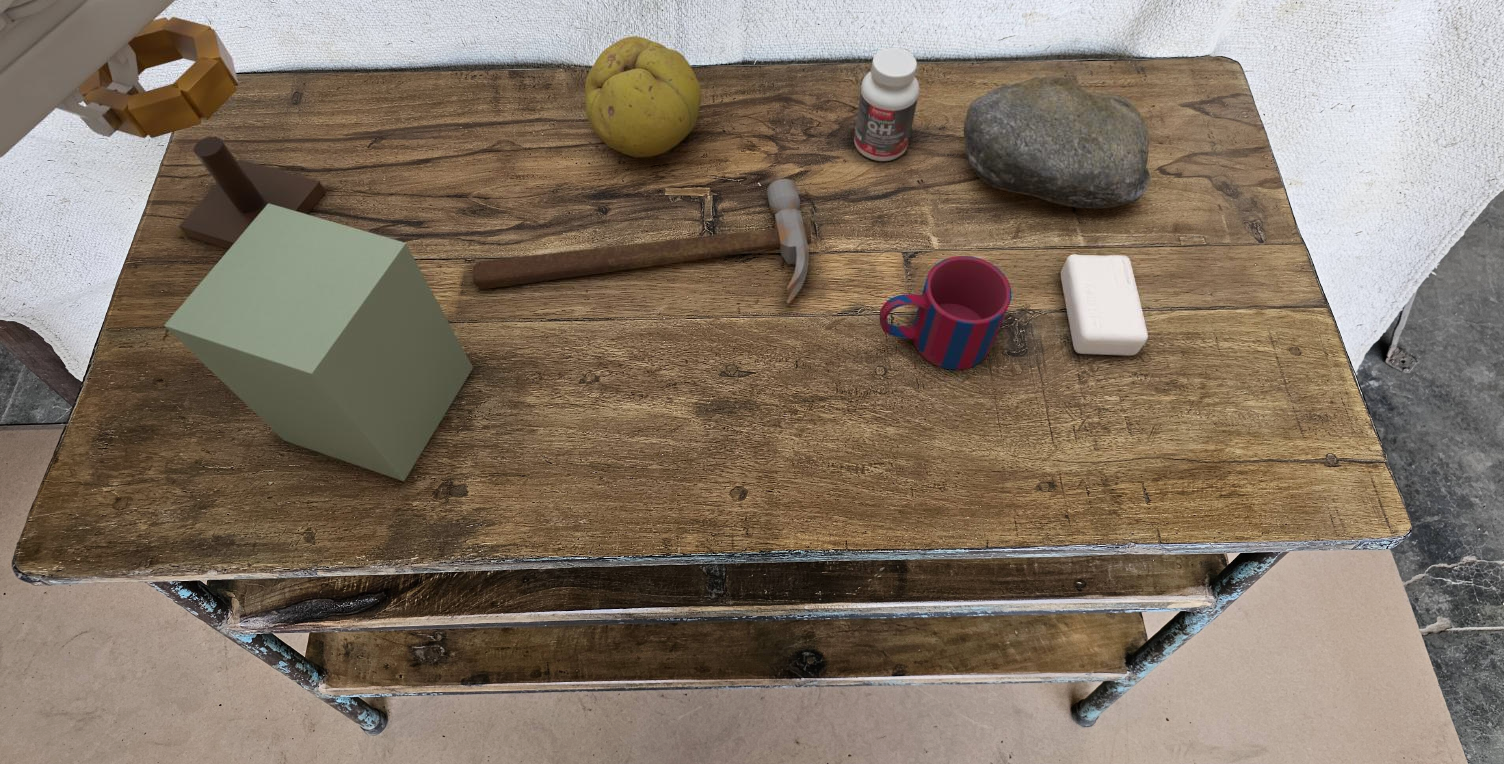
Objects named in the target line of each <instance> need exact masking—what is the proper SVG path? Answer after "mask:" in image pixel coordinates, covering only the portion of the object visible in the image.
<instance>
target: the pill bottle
mask: <svg viewBox="0 0 1504 764" xmlns="http://www.w3.org/2000/svg"><path fill="white" fill-rule="evenodd" d="M917 67H918V62H917V59H916V57H915V56H914V55H913V54H912V53H911V52H909V51H908V50H905V49H903V48H899V47H888V48H884V49H881V50H879V51H877V52H876V53H875V55H873V58H872V62H871V67H870V71H869V72H867V73H866V74H865V76H864V77H863V79H862V81H861V86H860V91H859V98H858V99H859V100H858V108H857V114H856V119H855V120H856V121H855V129H854V136H853V143H854V146H855V148H856V150H857V152H859V153H860V154H861V155H863V156H864V157H865V158H868V159H870V160H873V161H876V162H888V161H889V162H890V161H893V160H895V159H898V158H899V157H901V156H902V155H904V154H905V153H906V151H907V149H908V146H909V142H910V139H911V133H912V129H913V124H914V119H915V115H916V114H915V113H916V109H917V106H918V99H919V96H920V84H919V81H918V79H917V78H916V74H917Z"/></svg>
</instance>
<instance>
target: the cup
mask: <svg viewBox="0 0 1504 764" xmlns="http://www.w3.org/2000/svg"><path fill="white" fill-rule="evenodd" d="M1011 301H1012V288H1011V285H1010V281H1009V280H1008V278H1007V276H1006V275H1005V274H1004V272H1003V271H1002V270H1000V268H998V267H997V266H996V265H994V264H993V263H991V262H989V261H988V260H985V259H982V258H979V257H977V256H976V257H975V256H970V255H956V256H950V257H948V258H944V259H943V260H941V261H938V262H937V263H936V264H935V265H933V267H932V268H931V269H930V270H929V272H928V274H927V275H926V279H925V282H924V285H923V290H922V292H921V294H913V293H912V294H911V293H907V294H906V293H905V294H899V295H895V296H892V297H891V298H889V299H888V300H886V302H883V303H884V304H883V305H882V306H881V308H880V309H879V315H878V316H879V325H880V326H881V329H882V331H883V332H884V333H885V334H887V335H889V336H890V337H891V336H892V337H894V338H901V339H908V340H912V341H913V345H914V347H915V348H916V350H917V352H918V353H919V354H920V355H921V357H922V358H924V359H925V360H926V361H927V362H928V363H930V364H932V365H934V366H936V367H938V368H942V369H946V370H951V371H952V370H953V371H960V370H961V371H962V370H967V369H970V368H973V367H976V366H977V365H979V364H980V363H981V362H982V361H984V359H986V357H987V356H988V355H989V353H990V350H991V348H992V346H993V343H994V341H995V339H996V336H997V334H998V332H999V330H1000V327H1001V325H1002V324H1003V321H1004V318H1005V316H1006V313H1007V311H1008V309H1009V307H1010V304H1011ZM906 306H914V307H918V308H917V311H916V314H915V317H914V322H913V325H912V326H898V325H894V324H891V323H888V322H887V318H888V316H889V315H890V313H891V312H892V311H895V309H897V308H900V307H906Z"/></svg>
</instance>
